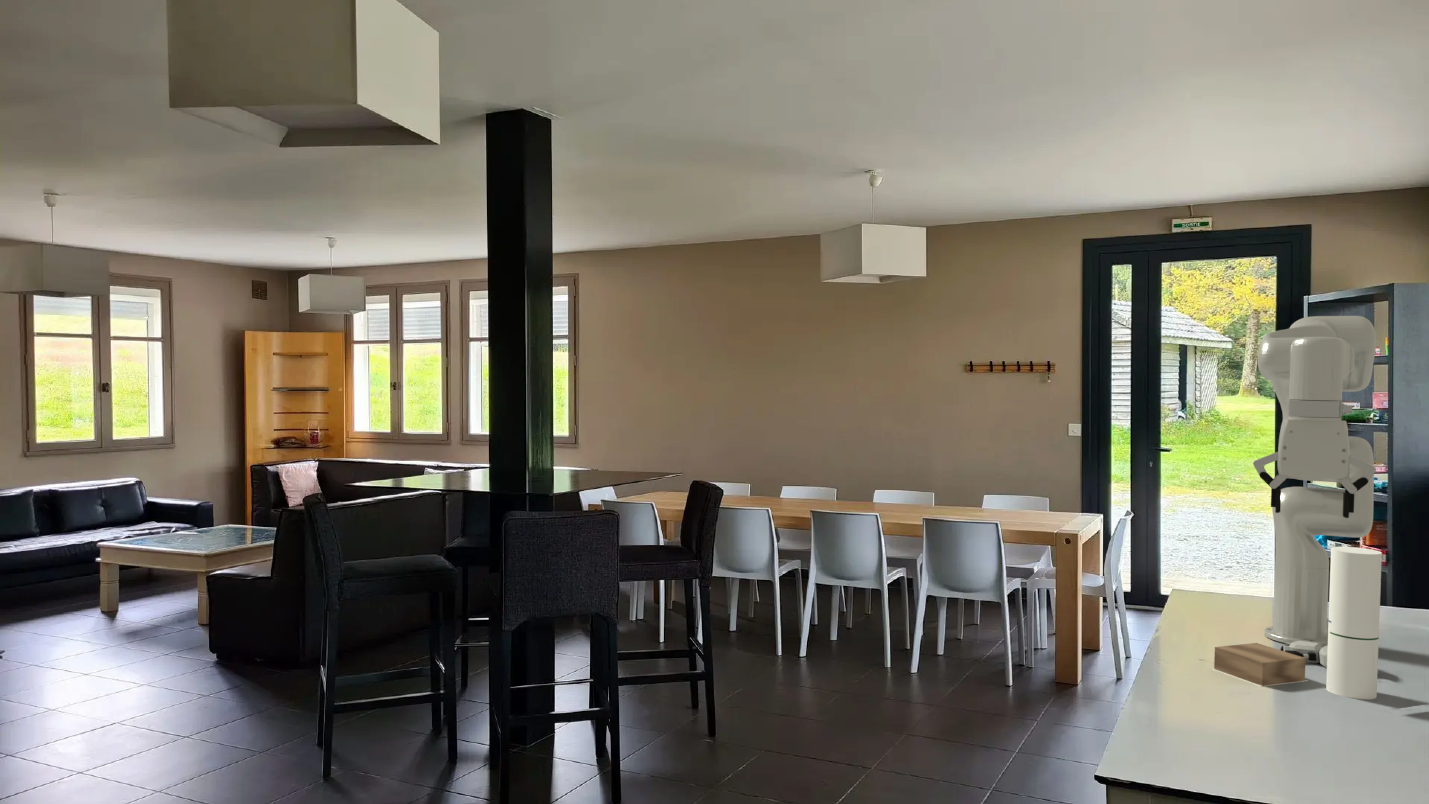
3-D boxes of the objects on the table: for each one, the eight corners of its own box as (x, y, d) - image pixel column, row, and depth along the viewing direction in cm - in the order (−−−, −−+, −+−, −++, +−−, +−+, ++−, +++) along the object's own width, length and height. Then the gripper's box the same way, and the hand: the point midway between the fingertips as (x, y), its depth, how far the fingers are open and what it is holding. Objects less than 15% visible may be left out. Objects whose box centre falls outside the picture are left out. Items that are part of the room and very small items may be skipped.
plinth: (1255, 664, 179) (1256, 642, 179) (1304, 680, 170) (1305, 658, 170) (1214, 669, 176) (1214, 647, 176) (1262, 685, 167) (1262, 662, 167)
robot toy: (1272, 671, 182) (1367, 683, 172) (1271, 646, 182) (1366, 657, 172) (1289, 658, 191) (1380, 669, 181) (1288, 635, 191) (1379, 644, 181)
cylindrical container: (1368, 693, 166) (1374, 548, 166) (1382, 706, 160) (1387, 555, 159) (1321, 688, 169) (1326, 545, 168) (1332, 701, 162) (1337, 552, 161)
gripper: (1375, 412, 160) (1371, 516, 160) (1255, 409, 168) (1252, 507, 169) (1379, 413, 153) (1376, 522, 153) (1254, 410, 162) (1251, 512, 162)
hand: (1311, 514), depth 161 cm, fingers open, 9 cm apart
